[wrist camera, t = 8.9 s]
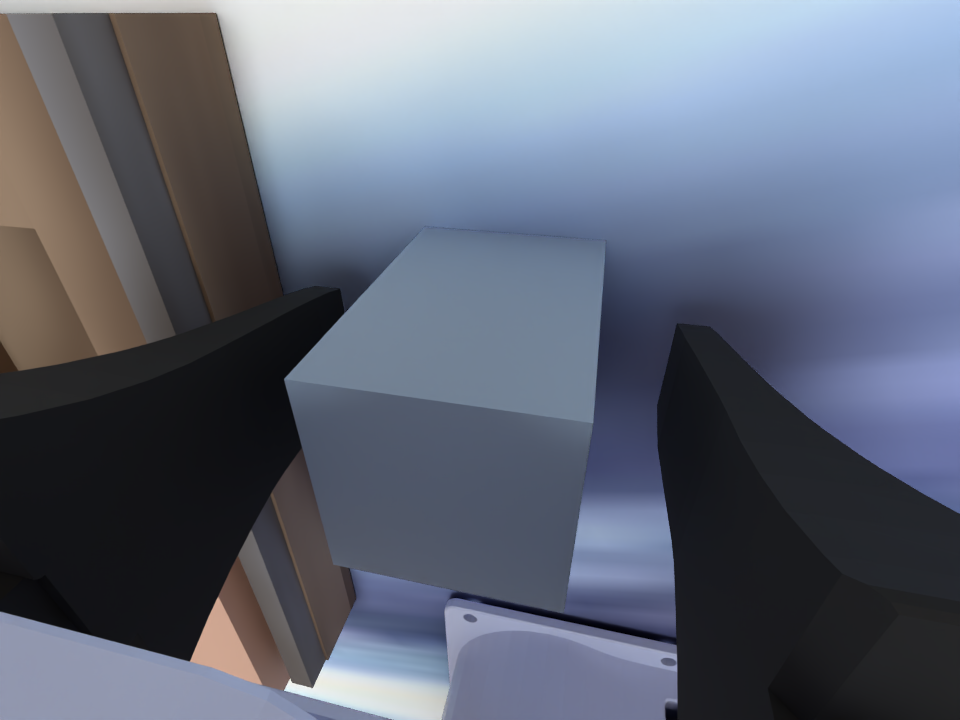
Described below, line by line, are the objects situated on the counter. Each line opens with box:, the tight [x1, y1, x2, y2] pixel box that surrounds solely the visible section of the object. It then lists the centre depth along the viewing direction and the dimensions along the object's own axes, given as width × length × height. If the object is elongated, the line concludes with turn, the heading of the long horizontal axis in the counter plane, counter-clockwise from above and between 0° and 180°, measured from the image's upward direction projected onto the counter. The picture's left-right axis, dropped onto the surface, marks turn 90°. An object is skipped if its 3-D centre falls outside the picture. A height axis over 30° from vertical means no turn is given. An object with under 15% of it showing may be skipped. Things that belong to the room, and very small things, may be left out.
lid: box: [190, 556, 290, 691], centre depth 18 cm, size 11×9×2 cm
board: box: [0, 13, 356, 688], centre depth 16 cm, size 14×20×4 cm
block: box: [284, 227, 606, 613], centre depth 10 cm, size 4×4×6 cm
